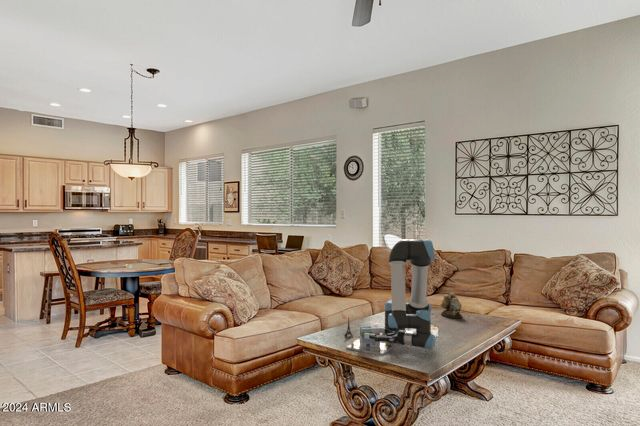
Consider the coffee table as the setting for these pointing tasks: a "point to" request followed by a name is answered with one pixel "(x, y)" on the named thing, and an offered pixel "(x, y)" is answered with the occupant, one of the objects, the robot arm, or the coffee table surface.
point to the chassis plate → (374, 350)
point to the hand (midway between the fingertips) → (369, 332)
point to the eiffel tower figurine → (348, 332)
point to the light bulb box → (371, 330)
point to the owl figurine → (451, 306)
